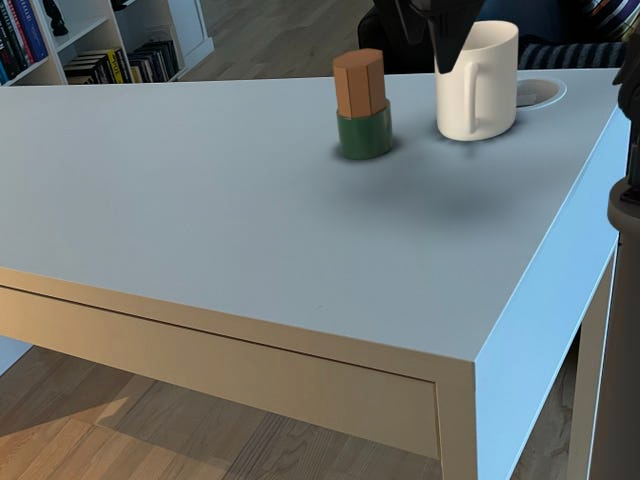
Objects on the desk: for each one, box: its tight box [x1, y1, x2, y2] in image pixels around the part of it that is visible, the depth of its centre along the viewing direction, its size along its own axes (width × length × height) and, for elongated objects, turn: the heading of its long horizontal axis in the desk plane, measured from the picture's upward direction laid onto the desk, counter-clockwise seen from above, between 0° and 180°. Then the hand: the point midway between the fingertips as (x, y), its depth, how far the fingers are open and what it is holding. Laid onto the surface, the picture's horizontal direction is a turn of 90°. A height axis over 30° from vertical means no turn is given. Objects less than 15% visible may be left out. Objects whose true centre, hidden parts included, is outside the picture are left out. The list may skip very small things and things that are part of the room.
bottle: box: [335, 97, 394, 160], centre depth 88 cm, size 6×6×8 cm
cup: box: [433, 20, 519, 142], centre depth 83 cm, size 8×12×10 cm
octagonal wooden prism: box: [332, 48, 387, 118], centre depth 86 cm, size 5×5×6 cm
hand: (429, 57), depth 73 cm, fingers open, 9 cm apart
